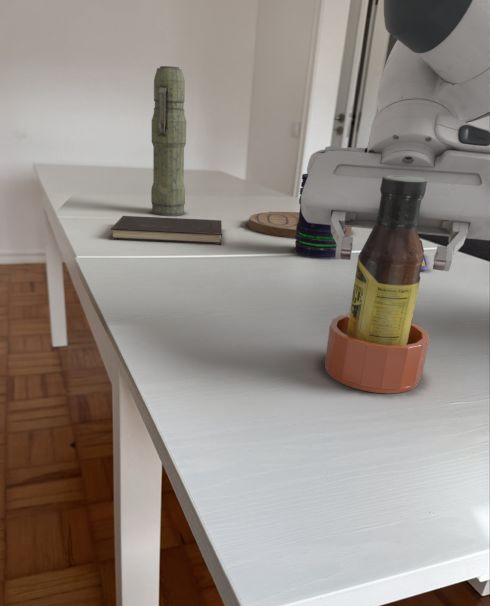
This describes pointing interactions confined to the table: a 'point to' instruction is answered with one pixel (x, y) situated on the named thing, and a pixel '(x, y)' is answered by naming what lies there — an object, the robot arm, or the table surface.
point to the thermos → (168, 142)
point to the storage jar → (314, 236)
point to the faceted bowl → (375, 360)
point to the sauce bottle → (389, 266)
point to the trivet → (278, 223)
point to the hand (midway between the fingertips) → (391, 261)
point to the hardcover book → (167, 230)
